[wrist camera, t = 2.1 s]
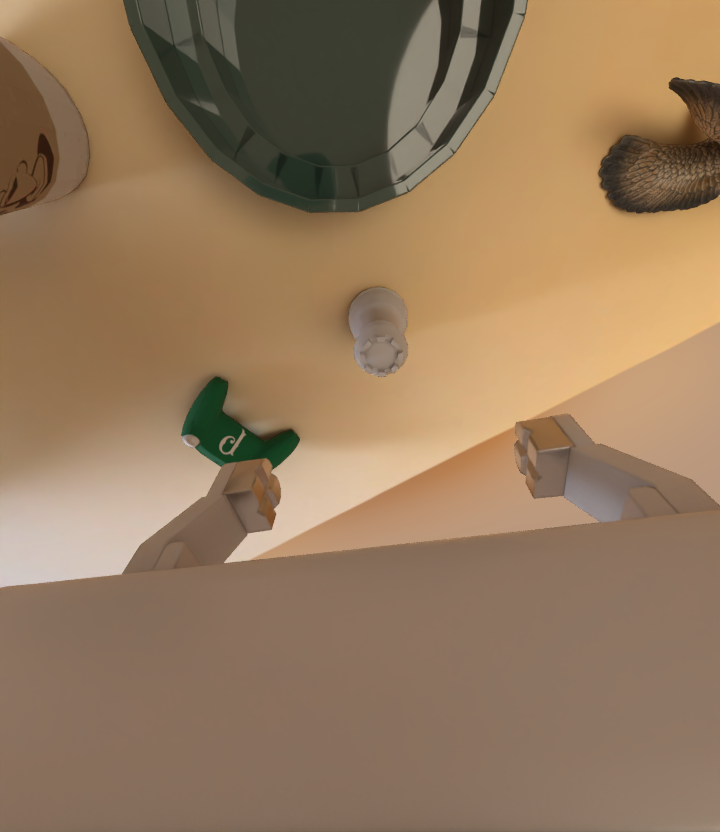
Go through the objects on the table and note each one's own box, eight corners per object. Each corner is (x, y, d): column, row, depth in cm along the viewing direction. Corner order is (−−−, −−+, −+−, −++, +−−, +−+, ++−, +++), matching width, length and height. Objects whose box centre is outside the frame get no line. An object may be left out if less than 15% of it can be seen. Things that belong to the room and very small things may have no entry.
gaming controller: (211, 378, 33) (166, 432, 31) (217, 372, 29) (167, 432, 28) (292, 437, 36) (255, 489, 34) (305, 437, 33) (265, 495, 31)
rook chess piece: (400, 347, 29) (410, 396, 22) (344, 339, 29) (338, 386, 22) (413, 290, 27) (428, 325, 20) (352, 280, 26) (348, 313, 20)
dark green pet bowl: (368, 258, 26) (369, 278, 20) (138, 82, 21) (58, 46, 15) (556, -23, 18) (637, -112, 13) (271, -390, 14) (207, -776, 8)
